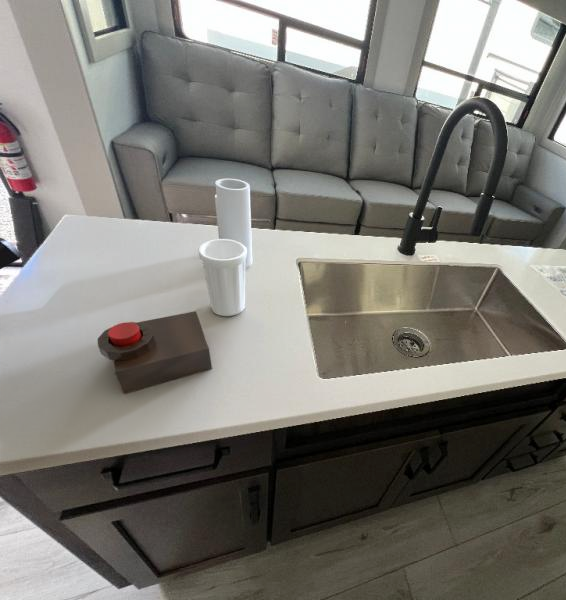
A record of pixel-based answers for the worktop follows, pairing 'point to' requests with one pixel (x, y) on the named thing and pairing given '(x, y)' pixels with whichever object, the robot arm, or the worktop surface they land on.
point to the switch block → (159, 352)
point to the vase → (234, 213)
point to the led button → (124, 334)
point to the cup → (225, 274)
